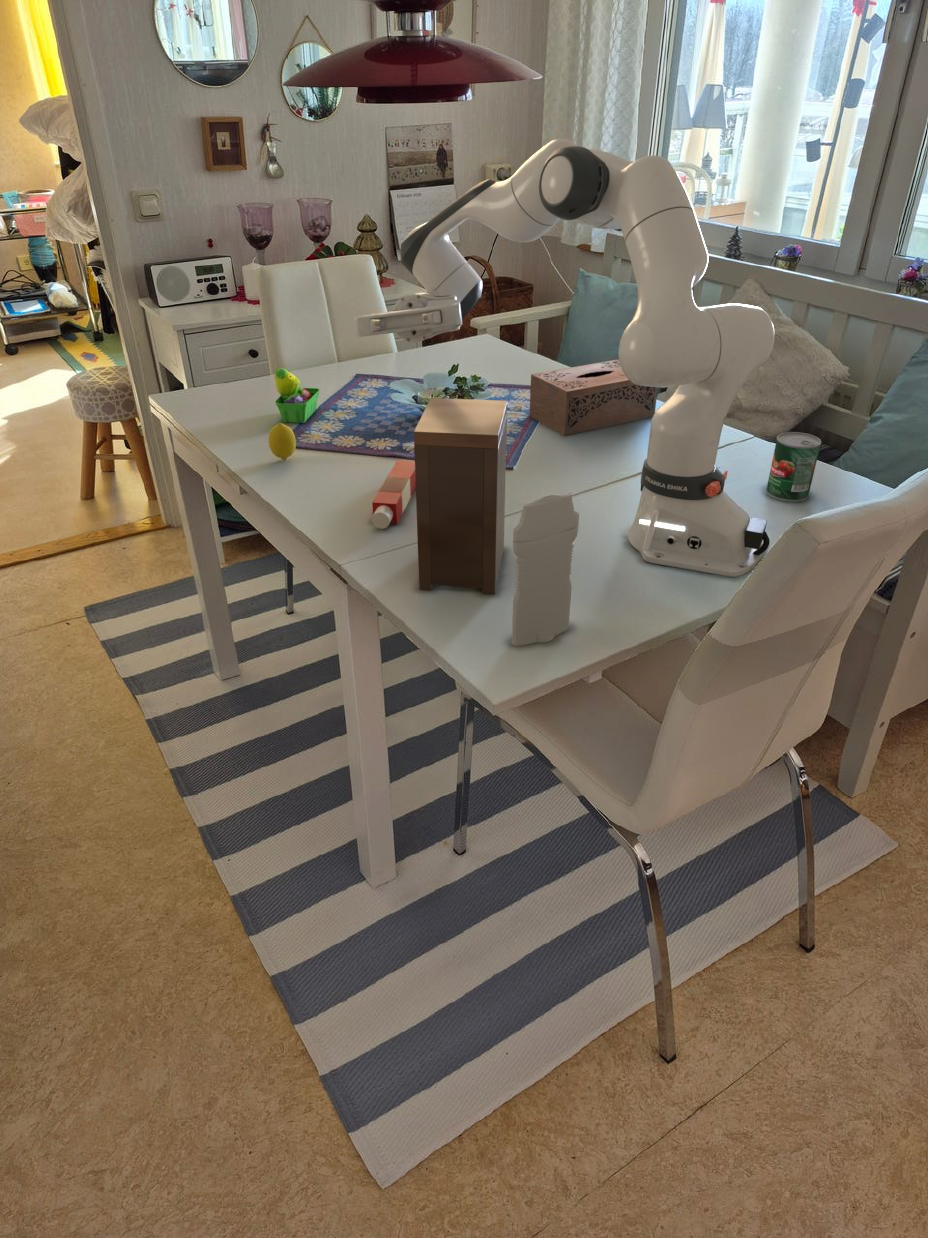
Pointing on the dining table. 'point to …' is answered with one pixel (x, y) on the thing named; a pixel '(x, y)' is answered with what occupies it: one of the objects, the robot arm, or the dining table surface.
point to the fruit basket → (294, 398)
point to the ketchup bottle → (394, 494)
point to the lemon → (282, 441)
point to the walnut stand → (460, 492)
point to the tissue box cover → (588, 398)
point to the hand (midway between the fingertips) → (401, 322)
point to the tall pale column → (543, 568)
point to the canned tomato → (793, 466)
